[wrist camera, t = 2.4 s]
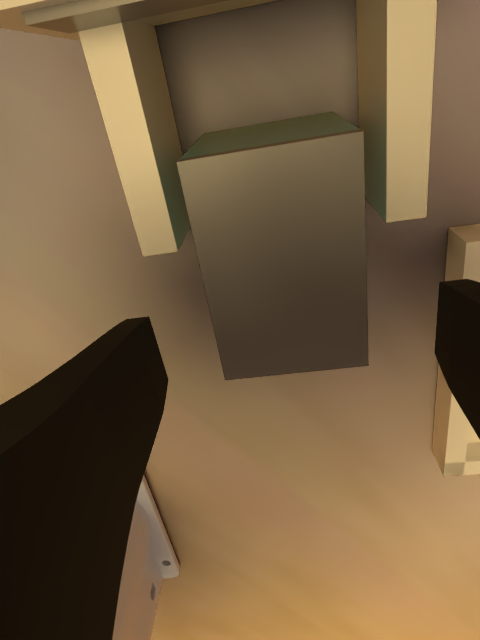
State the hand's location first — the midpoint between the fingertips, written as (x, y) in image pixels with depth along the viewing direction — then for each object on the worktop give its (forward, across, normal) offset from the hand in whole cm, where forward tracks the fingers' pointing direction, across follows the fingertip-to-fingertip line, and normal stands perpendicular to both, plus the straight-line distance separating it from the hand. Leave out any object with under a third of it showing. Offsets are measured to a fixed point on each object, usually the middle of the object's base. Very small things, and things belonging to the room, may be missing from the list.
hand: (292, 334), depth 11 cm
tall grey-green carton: (+6, 0, -1) cm, 6 cm away
